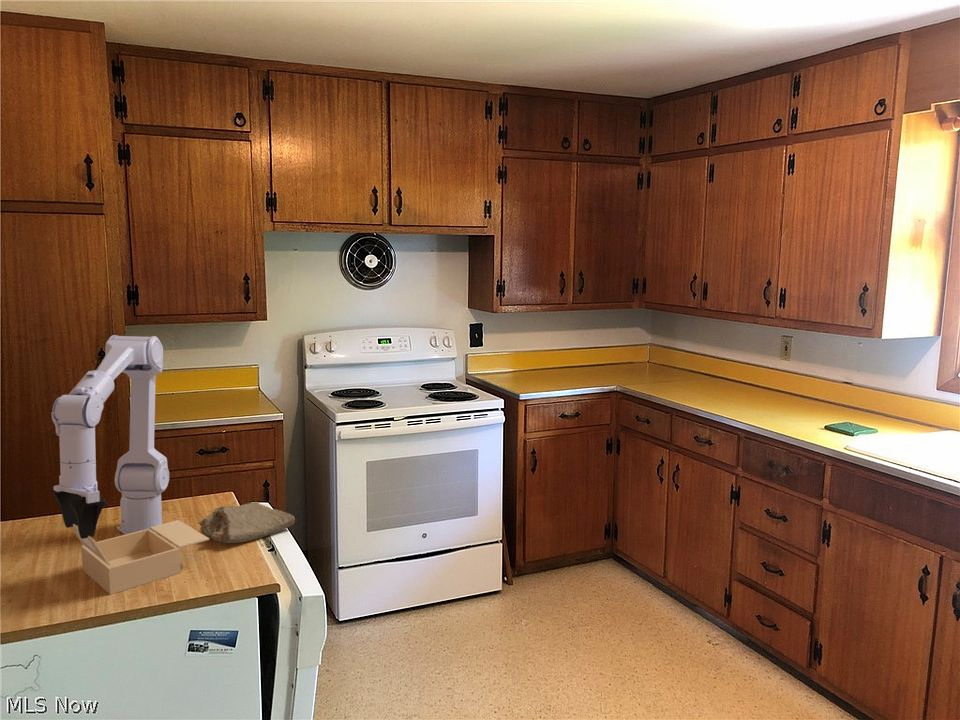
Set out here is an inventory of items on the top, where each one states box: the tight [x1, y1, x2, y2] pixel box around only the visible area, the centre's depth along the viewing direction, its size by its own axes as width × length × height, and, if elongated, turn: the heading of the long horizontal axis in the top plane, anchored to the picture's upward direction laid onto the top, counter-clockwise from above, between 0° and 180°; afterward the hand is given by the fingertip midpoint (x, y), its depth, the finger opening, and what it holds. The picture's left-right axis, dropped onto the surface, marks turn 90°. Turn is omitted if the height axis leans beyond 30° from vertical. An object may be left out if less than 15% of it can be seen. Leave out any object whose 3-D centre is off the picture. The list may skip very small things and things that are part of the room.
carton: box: [80, 519, 210, 596], centre depth 145 cm, size 14×19×5 cm
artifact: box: [198, 501, 296, 544], centre depth 164 cm, size 18×7×15 cm
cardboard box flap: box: [70, 524, 110, 565], centre depth 137 cm, size 14×6×1 cm
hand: (79, 531), depth 135 cm, fingers open, 7 cm apart
